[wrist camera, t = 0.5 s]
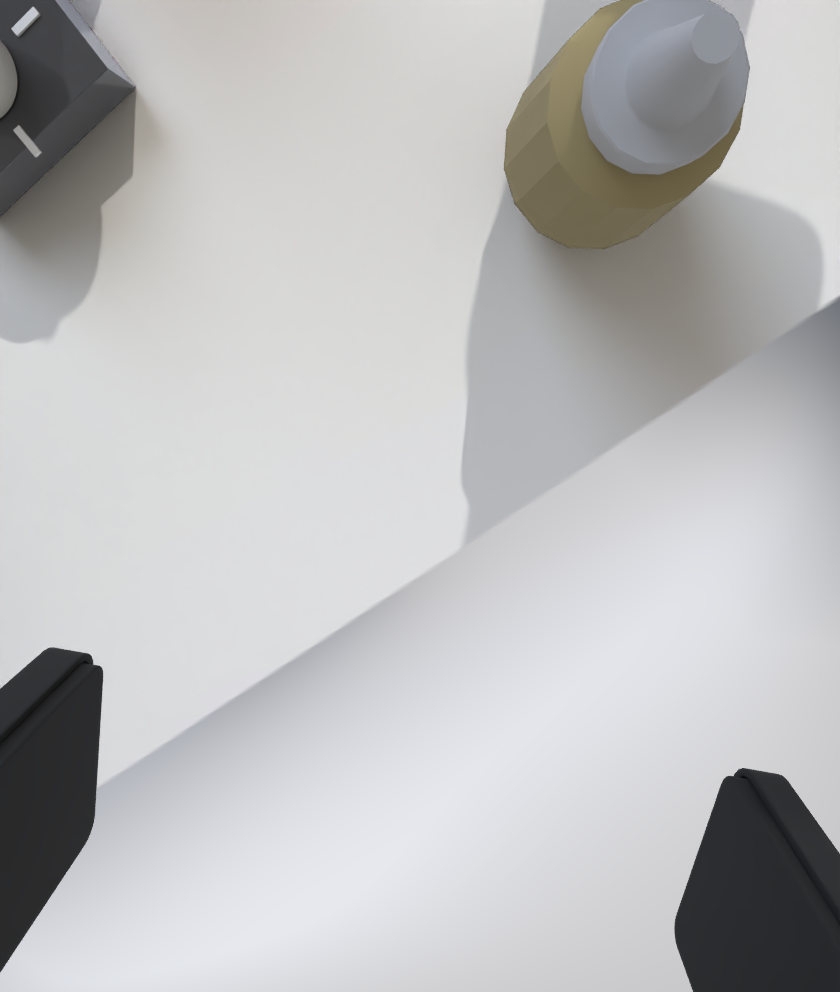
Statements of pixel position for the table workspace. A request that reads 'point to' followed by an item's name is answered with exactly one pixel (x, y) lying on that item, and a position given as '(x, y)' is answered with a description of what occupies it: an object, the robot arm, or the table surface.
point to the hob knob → (7, 80)
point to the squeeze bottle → (627, 120)
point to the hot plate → (51, 89)
